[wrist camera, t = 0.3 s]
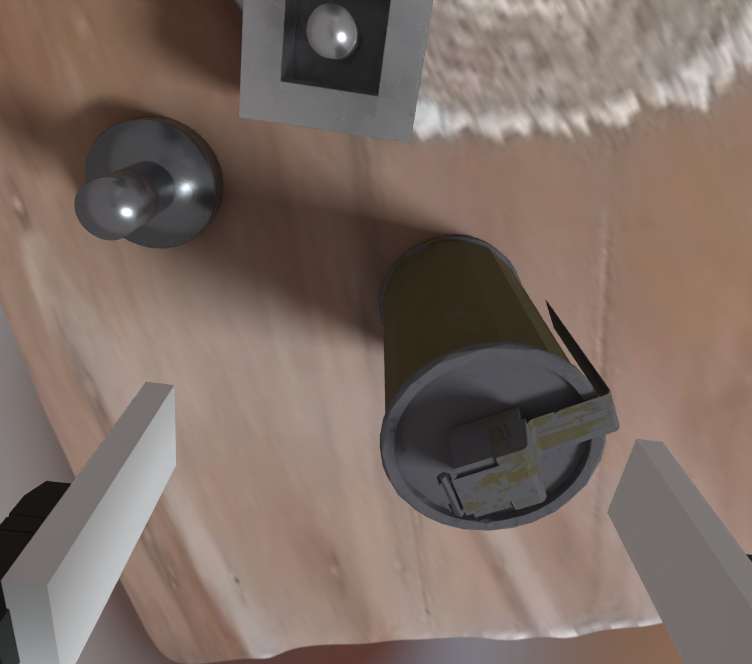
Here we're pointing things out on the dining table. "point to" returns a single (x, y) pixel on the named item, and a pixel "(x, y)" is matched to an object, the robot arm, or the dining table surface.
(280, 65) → the grey square ring block
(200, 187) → the cylinder
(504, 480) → the canister
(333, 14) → the stand
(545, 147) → the dining table surface
